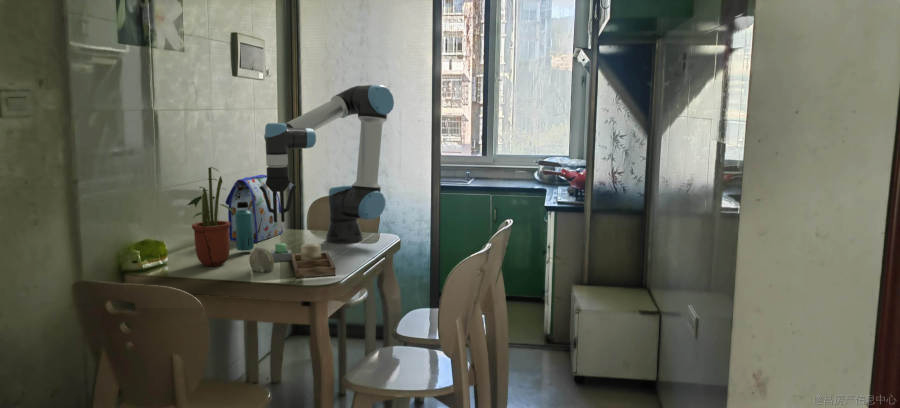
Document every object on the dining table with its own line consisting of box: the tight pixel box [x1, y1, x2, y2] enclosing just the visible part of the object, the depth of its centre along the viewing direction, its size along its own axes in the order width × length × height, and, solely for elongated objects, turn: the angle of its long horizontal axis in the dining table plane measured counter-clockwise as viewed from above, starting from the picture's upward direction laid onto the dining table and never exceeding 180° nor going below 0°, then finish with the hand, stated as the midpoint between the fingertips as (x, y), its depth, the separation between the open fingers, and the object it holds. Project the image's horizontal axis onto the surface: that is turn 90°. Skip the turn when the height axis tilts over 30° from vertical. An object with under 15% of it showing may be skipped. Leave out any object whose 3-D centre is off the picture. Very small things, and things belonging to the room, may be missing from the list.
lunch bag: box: [225, 174, 283, 243], centre depth 299 cm, size 23×17×27 cm
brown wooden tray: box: [291, 251, 336, 280], centre depth 241 cm, size 13×25×3 cm, turn 16°
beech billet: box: [300, 243, 322, 261], centre depth 247 cm, size 7×7×6 cm
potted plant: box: [187, 166, 235, 267], centre depth 246 cm, size 17×16×35 cm
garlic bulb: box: [249, 247, 275, 273], centre depth 236 cm, size 9×8×10 cm
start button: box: [274, 242, 288, 254], centre depth 254 cm, size 4×4×4 cm
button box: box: [270, 249, 293, 262], centre depth 254 cm, size 7×7×4 cm
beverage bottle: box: [235, 202, 255, 252], centre depth 269 cm, size 6×7×20 cm
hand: (279, 230), depth 252 cm, fingers closed
